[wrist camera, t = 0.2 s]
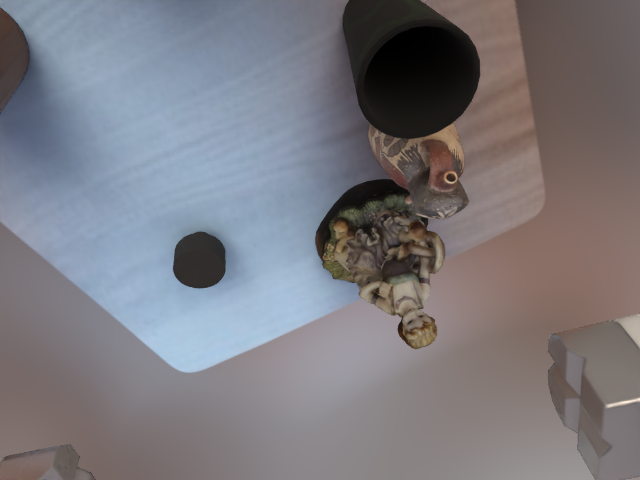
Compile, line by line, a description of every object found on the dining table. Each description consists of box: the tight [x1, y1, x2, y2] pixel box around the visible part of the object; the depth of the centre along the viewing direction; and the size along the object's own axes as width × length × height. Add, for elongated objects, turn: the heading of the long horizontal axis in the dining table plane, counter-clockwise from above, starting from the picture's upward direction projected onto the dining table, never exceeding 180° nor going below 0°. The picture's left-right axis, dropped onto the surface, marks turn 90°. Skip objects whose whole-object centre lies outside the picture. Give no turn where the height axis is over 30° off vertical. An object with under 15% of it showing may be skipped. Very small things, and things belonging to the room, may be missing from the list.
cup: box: [343, 0, 480, 139], centre depth 40 cm, size 8×8×12 cm
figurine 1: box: [368, 123, 469, 219], centre depth 47 cm, size 7×7×12 cm
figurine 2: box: [315, 179, 445, 349], centre depth 52 cm, size 12×11×15 cm
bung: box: [173, 232, 225, 288], centre depth 54 cm, size 5×5×4 cm
